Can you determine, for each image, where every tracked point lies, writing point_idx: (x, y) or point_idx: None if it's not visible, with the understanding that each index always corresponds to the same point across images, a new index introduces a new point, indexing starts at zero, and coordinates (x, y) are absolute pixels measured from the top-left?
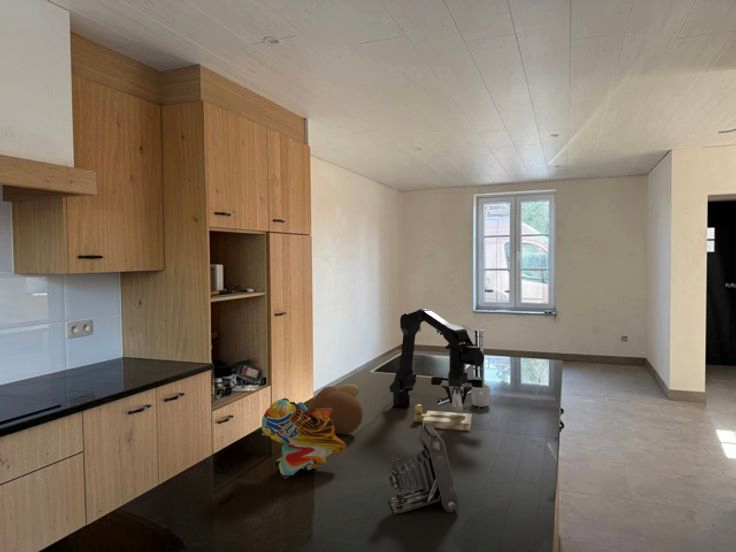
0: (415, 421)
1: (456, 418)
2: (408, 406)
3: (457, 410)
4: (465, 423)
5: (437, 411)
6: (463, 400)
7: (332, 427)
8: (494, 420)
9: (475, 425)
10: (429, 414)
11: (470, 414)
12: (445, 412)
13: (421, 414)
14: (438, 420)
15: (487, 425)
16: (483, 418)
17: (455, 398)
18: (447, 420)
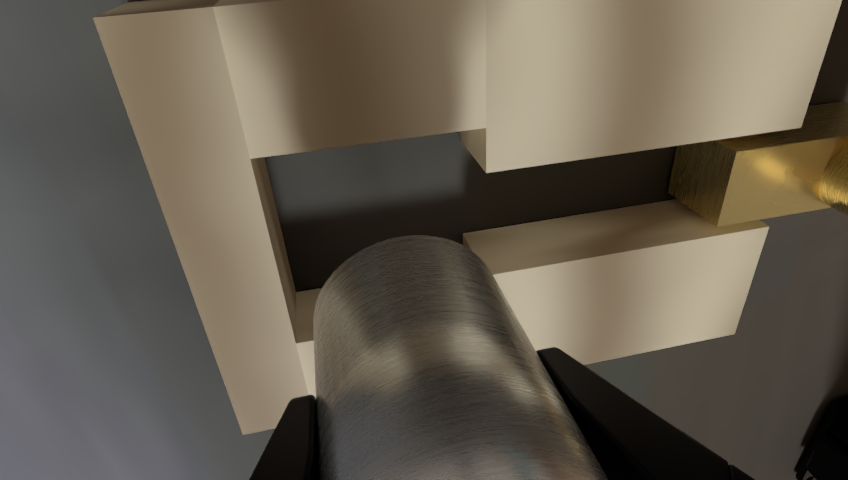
0: (833, 103)
1: None
2: (822, 431)
3: (383, 243)
4: (175, 10)
5: (636, 350)
6: (282, 468)
7: None
8: (23, 468)
9: (148, 250)
10: (734, 217)
11: (255, 413)
12: None
13: (840, 158)
14: (632, 12)
15: (6, 306)
16: (162, 468)
17: (494, 418)
18: (499, 67)
